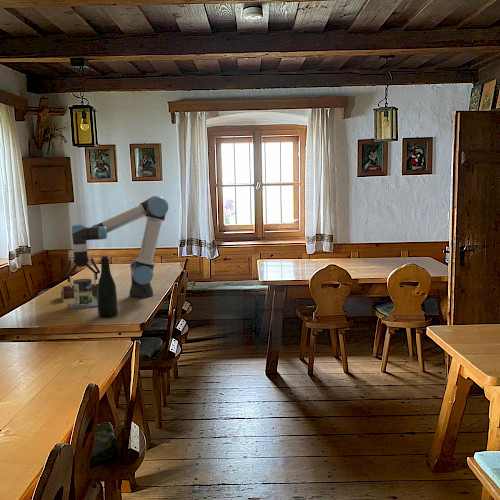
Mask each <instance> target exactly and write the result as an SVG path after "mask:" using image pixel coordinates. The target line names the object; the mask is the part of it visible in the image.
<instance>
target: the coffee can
mask: <svg viewBox="0 0 500 500" xmlns="http://www.w3.org/2000/svg"><path fill="white" fill-rule="evenodd" d="M72 282H73V283H72V284H73V286H74V297H73V298H74V301H75V305H89V304H92V303H93V301H92V300H93V295H92V284H93V283H92V279H90V278H79V279H74V280H73V281H72Z"/></svg>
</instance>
